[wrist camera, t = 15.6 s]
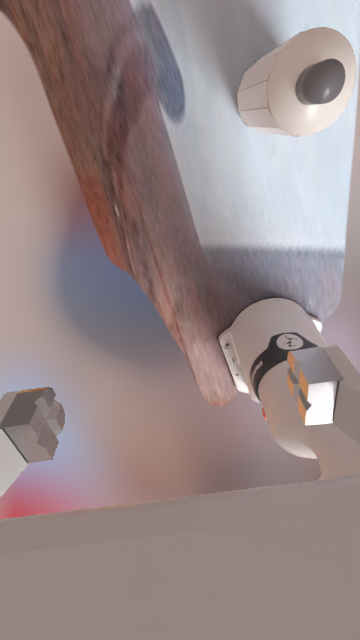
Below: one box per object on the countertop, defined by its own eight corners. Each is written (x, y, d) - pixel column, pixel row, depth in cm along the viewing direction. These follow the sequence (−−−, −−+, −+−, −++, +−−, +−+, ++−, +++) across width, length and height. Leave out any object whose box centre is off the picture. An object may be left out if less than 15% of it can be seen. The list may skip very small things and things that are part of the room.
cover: (295, 125, 40) (367, 128, 26) (239, 135, 41) (278, 144, 26) (298, 51, 36) (385, 6, 22) (235, 64, 37) (279, 28, 22)
